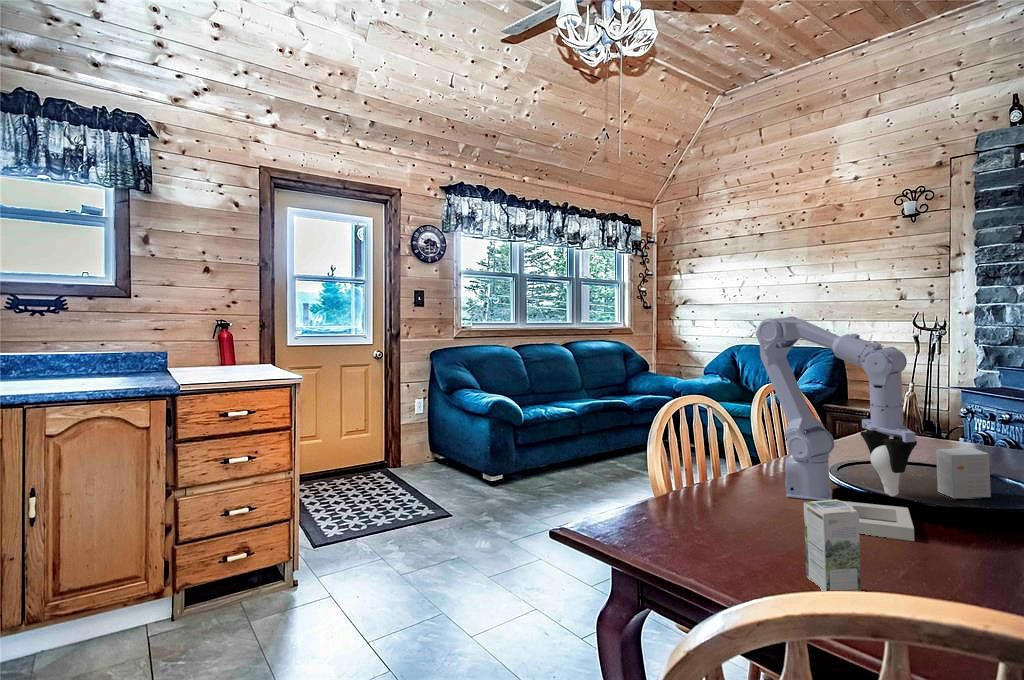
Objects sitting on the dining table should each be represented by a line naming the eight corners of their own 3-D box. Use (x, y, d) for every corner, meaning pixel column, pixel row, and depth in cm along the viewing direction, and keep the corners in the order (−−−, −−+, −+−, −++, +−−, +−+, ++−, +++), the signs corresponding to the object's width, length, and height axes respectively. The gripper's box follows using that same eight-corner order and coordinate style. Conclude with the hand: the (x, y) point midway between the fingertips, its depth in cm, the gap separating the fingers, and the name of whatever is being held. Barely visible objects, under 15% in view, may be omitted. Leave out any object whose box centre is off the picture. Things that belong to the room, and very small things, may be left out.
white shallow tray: (841, 532, 112) (840, 520, 111) (841, 512, 122) (841, 501, 122) (914, 541, 105) (913, 528, 105) (908, 519, 116) (907, 507, 115)
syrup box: (839, 582, 92) (835, 497, 91) (863, 600, 86) (859, 509, 86) (805, 585, 92) (801, 500, 91) (827, 604, 86) (823, 512, 85)
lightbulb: (908, 502, 114) (901, 450, 113) (873, 499, 117) (866, 449, 117) (910, 492, 118) (904, 442, 118) (876, 489, 122) (870, 441, 122)
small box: (973, 491, 129) (971, 447, 128) (991, 499, 123) (990, 453, 123) (936, 492, 130) (935, 448, 129) (953, 500, 124) (951, 454, 124)
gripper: (847, 400, 124) (849, 460, 125) (889, 412, 110) (891, 479, 110) (879, 398, 124) (881, 458, 125) (925, 409, 110) (927, 477, 110)
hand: (888, 468), depth 118 cm, fingers closed on lightbulb, 6 cm apart
